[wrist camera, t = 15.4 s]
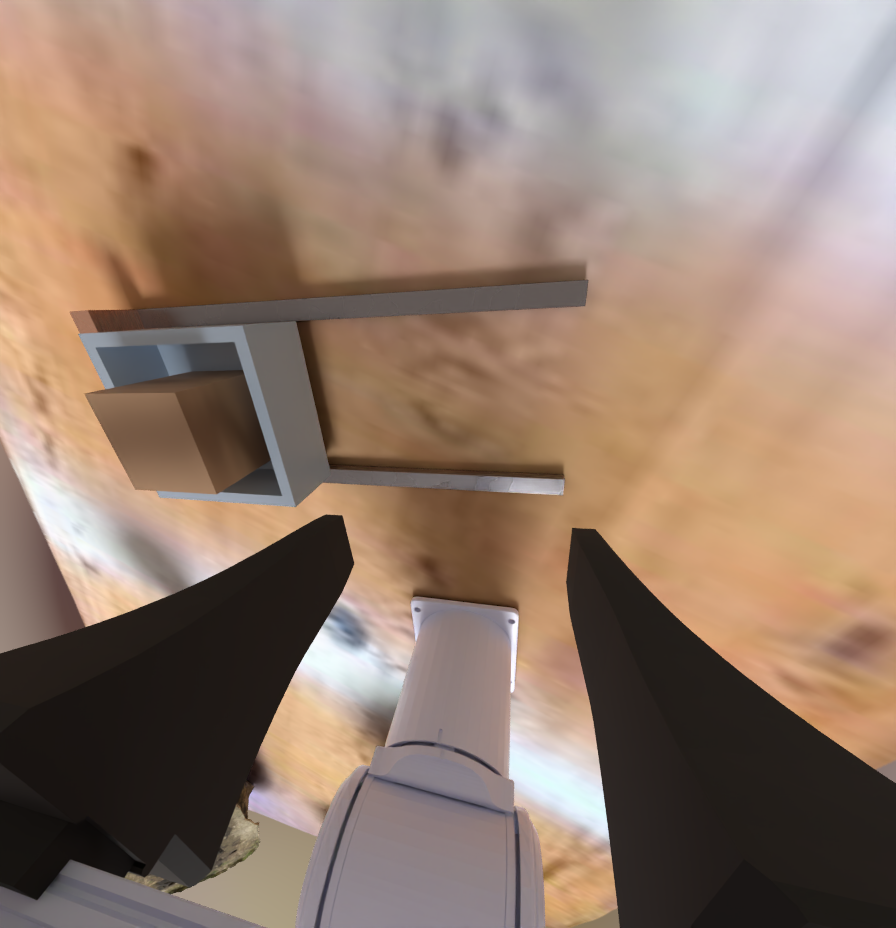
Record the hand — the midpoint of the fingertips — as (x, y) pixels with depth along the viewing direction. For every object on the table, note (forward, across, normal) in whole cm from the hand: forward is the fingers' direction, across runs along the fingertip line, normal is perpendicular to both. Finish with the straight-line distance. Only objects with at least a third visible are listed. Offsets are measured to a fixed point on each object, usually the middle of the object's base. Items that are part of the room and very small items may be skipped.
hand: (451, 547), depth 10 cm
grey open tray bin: (+9, +13, -2) cm, 16 cm away
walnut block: (+7, +13, -2) cm, 15 cm away
